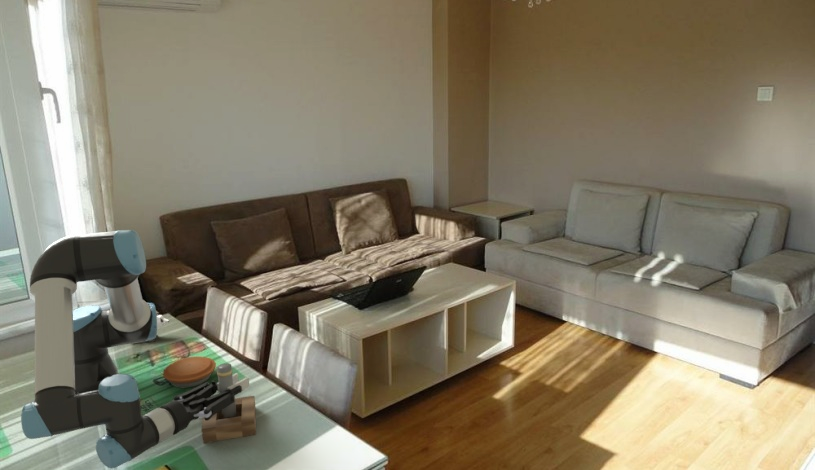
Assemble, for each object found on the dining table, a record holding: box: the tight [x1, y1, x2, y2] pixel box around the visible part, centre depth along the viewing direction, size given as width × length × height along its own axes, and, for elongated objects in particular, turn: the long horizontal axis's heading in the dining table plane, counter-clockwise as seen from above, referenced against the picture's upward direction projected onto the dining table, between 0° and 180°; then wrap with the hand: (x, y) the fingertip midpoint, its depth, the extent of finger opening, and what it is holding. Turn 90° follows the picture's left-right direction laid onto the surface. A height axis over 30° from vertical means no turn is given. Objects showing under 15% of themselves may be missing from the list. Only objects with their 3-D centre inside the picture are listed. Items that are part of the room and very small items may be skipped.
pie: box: [162, 356, 217, 389], centre depth 179 cm, size 16×16×5 cm
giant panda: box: [147, 312, 170, 343], centre depth 207 cm, size 15×6×10 cm, turn 97°
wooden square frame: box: [201, 395, 257, 444], centre depth 154 cm, size 13×13×4 cm
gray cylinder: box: [216, 362, 237, 419], centre depth 152 cm, size 4×4×16 cm
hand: (242, 379), depth 156 cm, fingers closed on gray cylinder, 3 cm apart
